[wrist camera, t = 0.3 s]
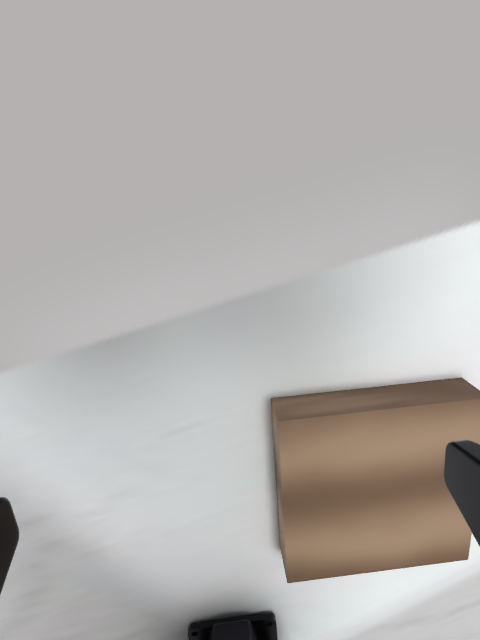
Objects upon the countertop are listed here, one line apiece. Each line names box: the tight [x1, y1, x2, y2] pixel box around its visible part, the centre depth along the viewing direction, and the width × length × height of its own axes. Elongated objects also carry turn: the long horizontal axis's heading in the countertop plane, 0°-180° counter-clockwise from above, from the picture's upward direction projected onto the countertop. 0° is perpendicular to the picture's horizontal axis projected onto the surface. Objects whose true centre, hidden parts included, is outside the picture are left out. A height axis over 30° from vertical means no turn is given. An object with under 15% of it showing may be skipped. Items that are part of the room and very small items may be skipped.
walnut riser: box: [271, 378, 480, 583], centre depth 25 cm, size 12×12×3 cm
